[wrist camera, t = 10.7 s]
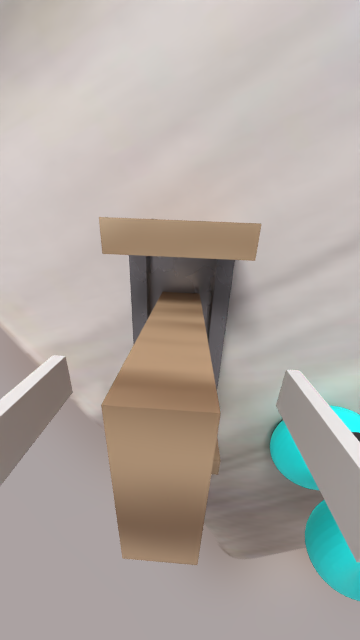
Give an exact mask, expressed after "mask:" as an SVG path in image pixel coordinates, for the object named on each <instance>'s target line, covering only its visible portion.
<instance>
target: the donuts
mask: <svg viewBox="0 0 360 640" xmlns="http://www.w3.org/2000/svg"><path fill="white" fill-rule="evenodd" d="M330 407H331V408H332V410H333V411H334V412H335V413H336V414H337V416H338V417H339V418H340V419H341V420H342V422H343V423H344V424H345V425H346V426H347V427H348V429H349V430H350V431H351V432H359V433H360V415H359V414H357V413H355V412H353V411H351V410H348V409H346V408H342V407H338V406H330ZM270 453H271V457H272V459H273V462H274V464H275V465H276V467H277V469H278V470H279V471H280V472H281V473H282V474H283V475H284V476H285V477H286V478H287V479H289V480H290V481H292V482H293V483H295V484H297V485H300V486H302V487H305V488H308V489H313V490H319V488H318V486H317V484H316V482H315V480H314V479H313V477H312V475H311V473H310V471H309V469H308V467H307V465H306V463H305V461H304V459H303V457H302V455H301V453H300V451H299V450H298V448H297V446H296V444H295V442H294V440H293V438H292V436H291V434H290V432H289V430H288V428H287V426H286V424H285V422H284V421H281V422H280V424H279V425H278V426H277V427H276V429H275V430H274V432H273V434H272V437H271V441H270ZM305 544H306V549H307V552H308V555H309V558H310V560H311V562H312V564H313V566H314V568H315V569H316V571H317V572H318V574H319V575H320V576H321V577H322V579H323V580H324V581H325V582H327V584H328V585H329V586H331V587H332V588H333V589H334V590H336V591H337V592H339V593H341V594H343V595H344V596H346V597H349V598H351V599H354V600H357V601H360V562H356V560H355V558H354V556H353V554H352V552H351V550H350V548H349V546H348V544H347V542H346V540H345V538H344V537H343V535H342V533H341V531H340V529H339V527H338V525H337V523H336V521H335V519H334V517H333V515H332V513H331V511H330V509H329V508H328V506H327V504H326V502H325V500H323V501H322V502H321V503H319V504H318V505H317V506H316V507H315V509H314V510H313V511H312V513H311V514H310V517H309V519H308V521H307V524H306V529H305Z"/></svg>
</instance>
